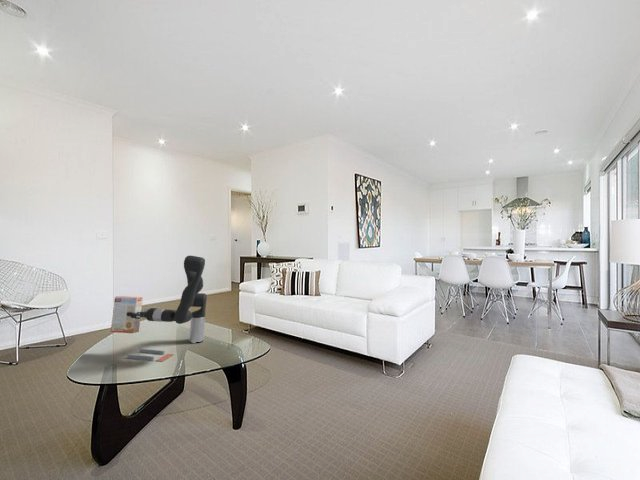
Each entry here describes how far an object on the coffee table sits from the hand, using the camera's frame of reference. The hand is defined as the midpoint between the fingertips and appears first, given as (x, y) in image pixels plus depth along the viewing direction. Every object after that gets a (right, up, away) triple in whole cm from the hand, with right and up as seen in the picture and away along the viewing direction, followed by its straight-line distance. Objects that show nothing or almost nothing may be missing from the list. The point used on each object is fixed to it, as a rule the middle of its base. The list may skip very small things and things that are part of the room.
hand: (131, 312), depth 180 cm
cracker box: (-3, -11, -1) cm, 12 cm away
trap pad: (+22, -26, -3) cm, 34 cm away
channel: (+10, -25, -2) cm, 27 cm away
